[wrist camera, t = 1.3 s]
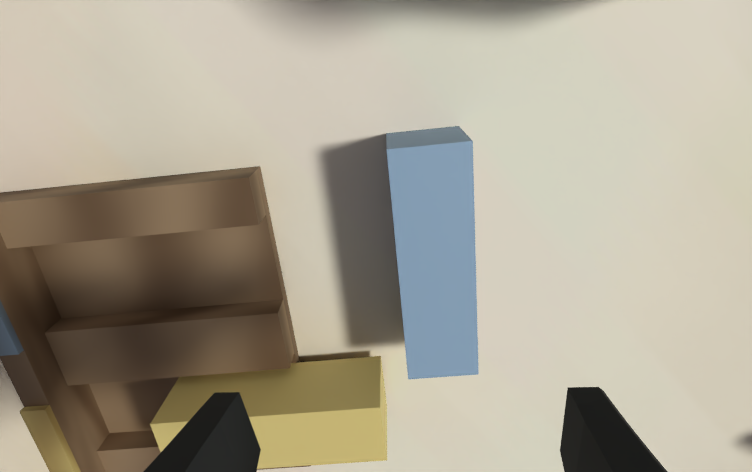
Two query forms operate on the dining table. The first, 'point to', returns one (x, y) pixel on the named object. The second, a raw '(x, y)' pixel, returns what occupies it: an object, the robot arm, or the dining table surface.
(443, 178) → the stick blue
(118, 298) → the comb board
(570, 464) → the robot arm
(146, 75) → the dining table surface
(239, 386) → the stick ochre
